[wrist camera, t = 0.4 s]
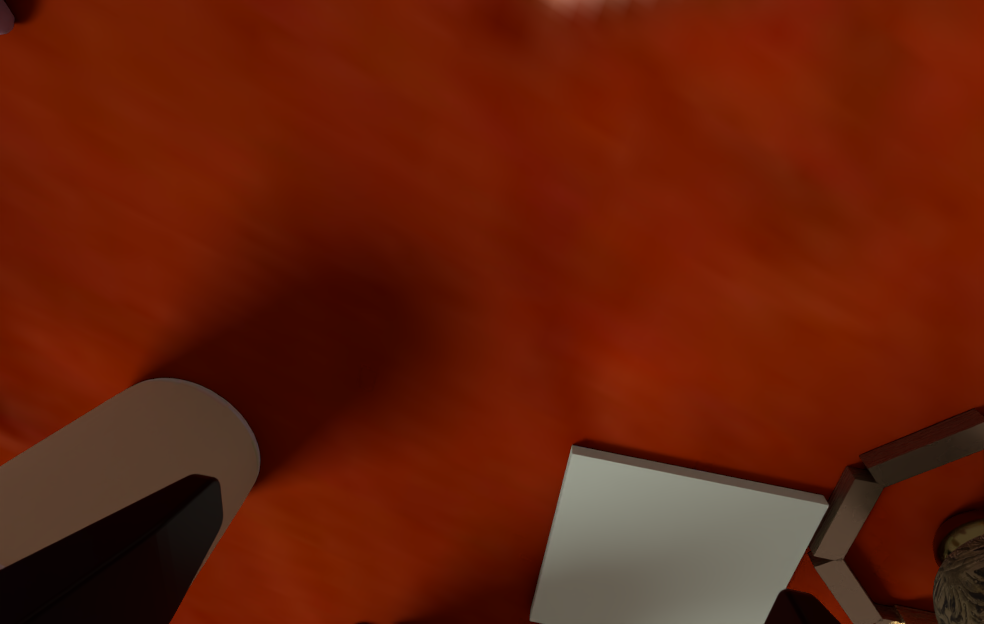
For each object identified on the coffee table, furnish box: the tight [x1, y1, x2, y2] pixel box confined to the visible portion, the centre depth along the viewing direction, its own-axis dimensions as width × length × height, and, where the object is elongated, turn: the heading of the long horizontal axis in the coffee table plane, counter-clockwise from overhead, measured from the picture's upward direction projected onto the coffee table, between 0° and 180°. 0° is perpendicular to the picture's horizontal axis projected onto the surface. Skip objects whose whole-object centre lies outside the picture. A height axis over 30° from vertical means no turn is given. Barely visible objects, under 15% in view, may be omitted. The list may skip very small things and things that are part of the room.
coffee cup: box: [0, 378, 260, 584], centre depth 23 cm, size 9×9×12 cm
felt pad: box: [530, 445, 829, 624], centre depth 27 cm, size 11×11×1 cm
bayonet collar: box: [808, 409, 984, 624], centre depth 23 cm, size 13×12×1 cm
